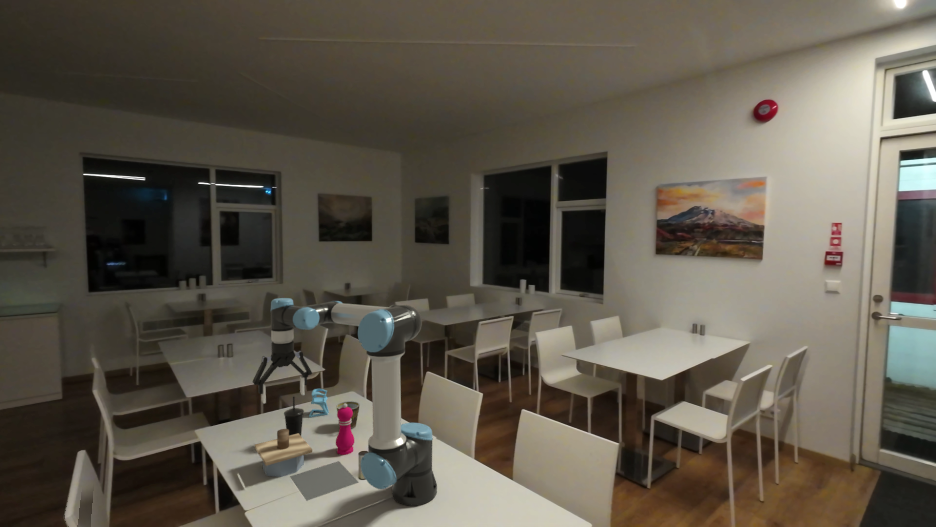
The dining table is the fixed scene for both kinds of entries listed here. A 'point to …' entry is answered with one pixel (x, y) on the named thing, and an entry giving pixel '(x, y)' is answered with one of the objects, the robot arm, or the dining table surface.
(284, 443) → the lid
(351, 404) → the ceramic cup
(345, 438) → the pepper mill
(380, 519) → the dining table surface
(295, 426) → the drinking cup
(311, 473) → the mat
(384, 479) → the robot arm
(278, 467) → the bowl
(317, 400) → the chair
